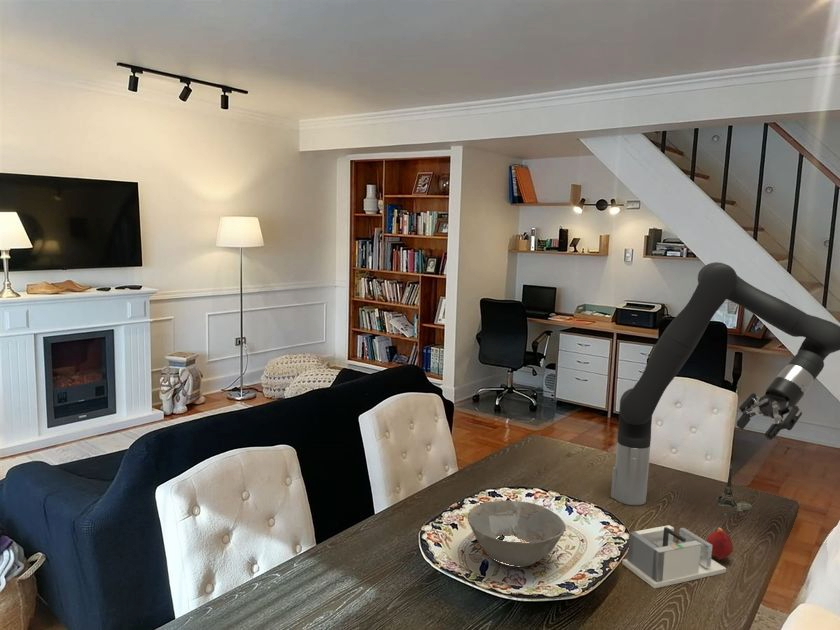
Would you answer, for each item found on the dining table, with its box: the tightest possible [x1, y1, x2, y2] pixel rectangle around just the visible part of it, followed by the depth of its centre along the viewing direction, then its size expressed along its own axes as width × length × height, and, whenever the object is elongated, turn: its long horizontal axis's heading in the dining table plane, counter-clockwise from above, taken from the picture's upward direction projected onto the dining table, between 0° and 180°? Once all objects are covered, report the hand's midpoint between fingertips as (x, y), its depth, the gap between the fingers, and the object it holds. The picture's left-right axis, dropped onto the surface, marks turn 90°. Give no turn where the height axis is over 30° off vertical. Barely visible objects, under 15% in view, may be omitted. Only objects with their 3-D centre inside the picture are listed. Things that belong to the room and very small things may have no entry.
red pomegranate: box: [705, 527, 734, 560], centre depth 151 cm, size 6×6×8 cm
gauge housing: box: [621, 524, 727, 590], centre depth 147 cm, size 21×11×8 cm, turn 111°
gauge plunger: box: [652, 527, 713, 568], centre depth 146 cm, size 11×10×9 cm
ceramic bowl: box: [467, 499, 567, 567], centre depth 149 cm, size 22×23×10 cm
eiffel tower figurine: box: [716, 464, 753, 516], centre depth 183 cm, size 15×10×13 cm
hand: (752, 432), depth 159 cm, fingers open, 8 cm apart
